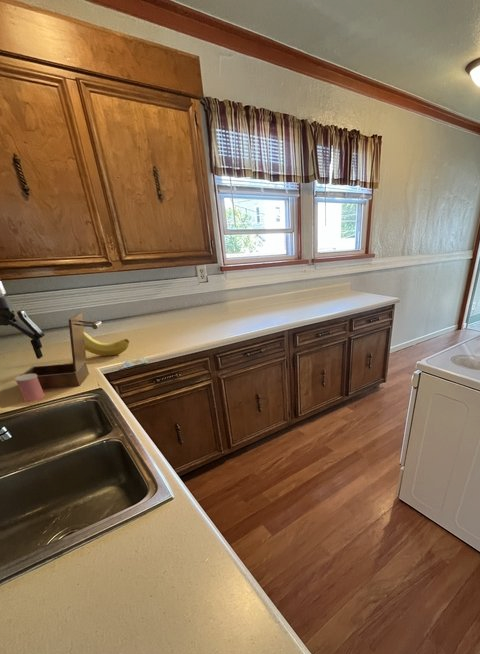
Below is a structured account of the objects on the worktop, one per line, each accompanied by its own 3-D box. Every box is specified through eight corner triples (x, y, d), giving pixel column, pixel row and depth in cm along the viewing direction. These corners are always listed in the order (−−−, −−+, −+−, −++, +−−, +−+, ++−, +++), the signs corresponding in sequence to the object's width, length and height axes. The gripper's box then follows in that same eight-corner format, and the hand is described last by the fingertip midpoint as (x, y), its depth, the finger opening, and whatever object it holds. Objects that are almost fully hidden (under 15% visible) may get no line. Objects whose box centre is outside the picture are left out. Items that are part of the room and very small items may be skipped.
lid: (68, 319, 118) (94, 322, 120) (79, 312, 129) (103, 315, 131) (73, 371, 126) (98, 373, 129) (84, 361, 137) (106, 362, 140)
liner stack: (20, 404, 117) (10, 381, 113) (30, 396, 123) (21, 374, 118) (40, 402, 118) (30, 379, 114) (49, 394, 123) (40, 372, 119)
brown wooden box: (23, 393, 125) (16, 378, 122) (37, 380, 136) (32, 366, 133) (80, 387, 129) (75, 373, 126) (90, 375, 140) (85, 362, 137)
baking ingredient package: (148, 361, 153) (114, 369, 145) (148, 362, 154) (114, 370, 145) (142, 356, 159) (109, 364, 151) (143, 357, 160) (109, 365, 151)
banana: (132, 350, 170) (122, 312, 161) (131, 354, 166) (121, 314, 156) (82, 356, 163) (69, 316, 154) (80, 360, 158) (66, 318, 149)
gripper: (-65, 299, 98) (-32, 365, 107) (31, 296, 103) (54, 359, 113) (-48, 295, 104) (-19, 358, 114) (41, 292, 110) (62, 352, 119)
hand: (17, 359), depth 113 cm, fingers open, 13 cm apart
